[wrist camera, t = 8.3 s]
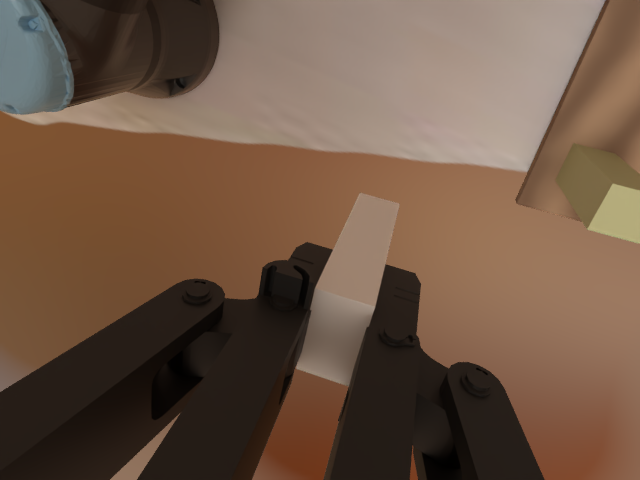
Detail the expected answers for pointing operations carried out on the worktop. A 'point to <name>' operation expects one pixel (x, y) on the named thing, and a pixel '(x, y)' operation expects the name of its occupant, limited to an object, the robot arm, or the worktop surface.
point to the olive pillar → (602, 191)
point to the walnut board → (593, 107)
